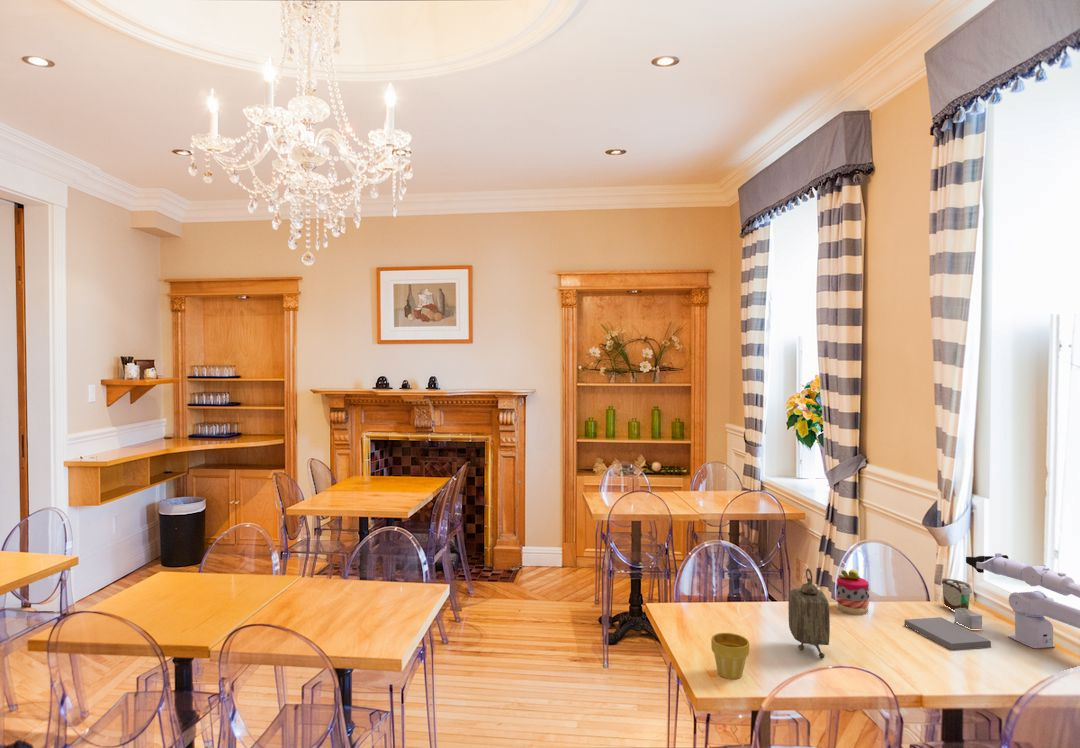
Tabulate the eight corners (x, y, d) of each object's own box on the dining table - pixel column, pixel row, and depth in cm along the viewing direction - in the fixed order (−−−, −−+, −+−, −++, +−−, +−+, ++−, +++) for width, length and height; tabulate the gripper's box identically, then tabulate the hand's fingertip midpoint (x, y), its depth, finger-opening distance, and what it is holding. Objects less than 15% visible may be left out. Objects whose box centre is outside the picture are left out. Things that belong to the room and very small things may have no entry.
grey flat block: (990, 647, 200) (990, 640, 200) (951, 650, 198) (951, 643, 198) (940, 623, 220) (940, 617, 220) (904, 625, 218) (904, 619, 218)
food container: (980, 617, 225) (980, 589, 226) (962, 617, 226) (962, 588, 226) (958, 605, 238) (958, 578, 238) (941, 604, 238) (941, 577, 238)
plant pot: (755, 682, 177) (755, 646, 177) (718, 683, 176) (718, 647, 176) (740, 665, 187) (740, 631, 187) (706, 666, 186) (706, 632, 186)
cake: (836, 603, 239) (836, 563, 239) (868, 607, 235) (868, 566, 235) (836, 612, 230) (836, 570, 230) (869, 617, 225) (869, 574, 225)
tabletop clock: (829, 661, 190) (829, 577, 190) (797, 659, 191) (797, 575, 192) (817, 642, 204) (817, 563, 204) (787, 639, 206) (787, 561, 206)
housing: (982, 630, 214) (982, 615, 214) (971, 631, 214) (971, 616, 214) (963, 621, 222) (963, 607, 222) (952, 622, 221) (952, 607, 221)
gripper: (1029, 555, 213) (993, 547, 226) (992, 556, 210) (958, 548, 223) (1030, 577, 212) (994, 567, 226) (993, 578, 210) (958, 568, 223)
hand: (976, 559), depth 225 cm, fingers open, 7 cm apart
